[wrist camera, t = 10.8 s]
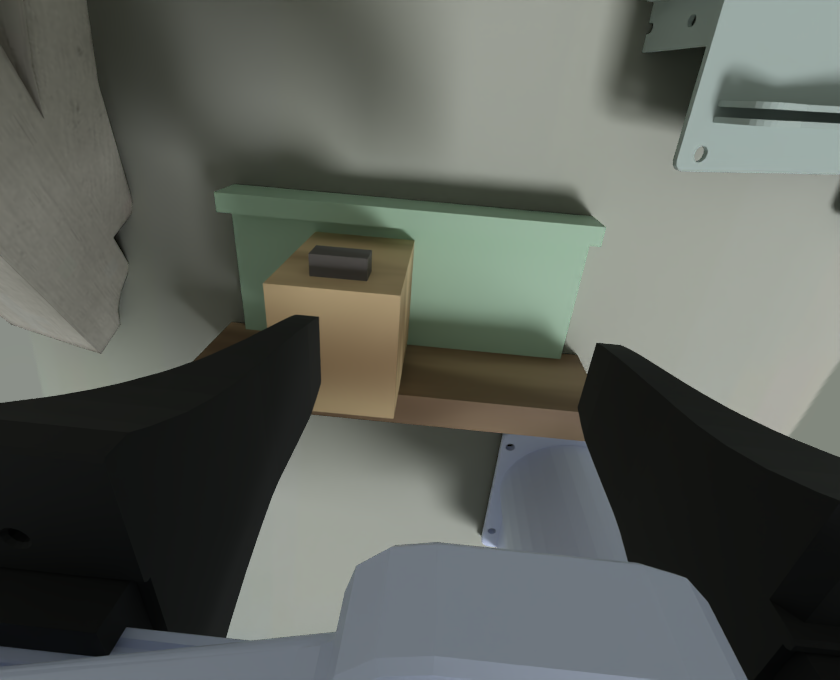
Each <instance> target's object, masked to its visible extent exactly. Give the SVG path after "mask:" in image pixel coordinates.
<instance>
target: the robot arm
mask: <svg viewBox="0 0 840 680" xmlns="http://www.w3.org/2000/svg"><path fill="white" fill-rule="evenodd" d="M320 385H321V359H320V329H319V317H317V316H307V315H293V316H290V317H288V318H286V319H284V320H282V321H280V322H278V323H276V324H274V325H272V326H270V327H268V328H266V329H264V330H262V331H260V332H258V333H256V334H254V335H252V336H250V337H248V338H246V339H244V340H242V341H240V342H238V343H236V344H233V345H231V346H229V347H227V348H224V349H222V350H220V351H218V352H216V353H213V354H211V355H209V356H206V357H204V358H201V359H199V360H196V361H193V362H191V363H188V364H185V365H182V366H179V367H176V368H173V369H170V370H167V371H164V372H160V373H157V374H153V375H149V376H146V377H142V378H138V379H135V380H131V381H127V382H123V383H119V384H115V385H110V386H106V387H101V388H96V389H91V390H86V391H80V392H75V393H69V394H64V395H57V396H51V397H44V398H36V399H28V400H20V401H13V402H5V403H0V680H840V457H837V456H835V455H832V454H829V453H827V452H825V451H822V450H819V449H817V448H814V447H812V446H810V445H807V444H805V443H802V442H800V441H797V440H795V439H792V438H790V437H788V436H785V435H783V434H781V433H779V432H776V431H774V430H772V429H770V428H768V427H766V426H764V425H761V424H759V423H757V422H755V421H753V420H751V419H749V418H747V417H745V416H743V415H741V414H739V413H737V412H735V411H733V410H731V409H729V408H727V407H725V406H724V405H722V404H720V403H718V402H717V401H715V400H713V399H711V398H709V397H708V396H706V395H704V394H702V393H701V392H699V391H697V390H696V389H694V388H692V387H691V386H689V385H687V384H686V383H684V382H682V381H681V380H679V379H677V378H676V377H674V376H673V375H671V374H669V373H668V372H666V371H665V370H663V369H662V368H660V367H658V366H657V365H655V364H654V363H652V362H650V361H649V360H647V359H645V358H644V357H642V356H640V355H639V354H637V353H635V352H634V351H632V350H630V349H628V348H626V347H624V346H621V345H614V344H603V343H596V347H595V350H594V353H593V357H592V360H591V363H590V367H589V370H588V374H587V377H586V380H585V384H584V387H583V390H582V394H581V397H580V401H579V404H578V407H577V408H578V413H579V418H580V423H581V427H582V431H583V435H584V439H585V441H576V440H566V439H556V438H546V437H535V436H525V435H515V434H505V433H503V435H502V439H501V444H500V449H499V454H498V459H497V463H496V468H495V473H494V478H493V483H492V488H491V492H490V497H489V502H488V507H487V512H486V517H485V521H484V526H483V531H482V536H481V537H482V543H483V544H484V545H486V546H491V547H497V548H489V547H479V546H470V545H460V544H450V543H440V542H432V543H419V544H405V545H395V546H393V547H390V548H389V549H387V550H385V551H383V552H381V553H379V554H377V555H375V556H374V557H372V558H370V559H368V560H366V561H364V562H362V563H361V564H359V565H357V566H356V568H355V570H354V573H353V575H352V577H351V579H350V581H349V584H348V586H347V588H346V590H345V594H344V598H343V603H342V608H341V612H340V617H339V621H338V626H337V631H336V632H329V633H319V634H309V635H300V636H290V637H280V638H271V639H261V640H252V641H249V640H240V639H231V638H226V636H227V632H228V629H229V625H230V622H231V619H232V615H233V612H234V609H235V606H236V602H237V599H238V596H239V593H240V590H241V586H242V583H243V580H244V577H245V574H246V570H247V567H248V564H249V561H250V558H251V555H252V552H253V549H254V547H255V544H256V541H257V538H258V535H259V532H260V529H261V526H262V523H263V520H264V518H265V515H266V512H267V509H268V506H269V504H270V501H271V498H272V495H273V493H274V491H275V488H276V486H277V484H278V481H279V479H280V477H281V475H282V473H283V471H284V469H285V467H286V465H287V463H288V461H289V459H290V457H291V455H292V453H293V451H294V449H295V447H296V445H297V443H298V441H299V439H300V437H301V434H302V432H303V430H304V428H305V426H306V424H307V422H308V420H309V418H310V416H311V413H312V411H313V408H314V405H315V402H316V399H317V395H318V392H319V389H320ZM508 444H513V445H512V446H506V445H508ZM490 528H493V529H490Z"/></svg>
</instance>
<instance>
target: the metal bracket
mask: <svg viewBox="0 0 840 680" xmlns="http://www.w3.org/2000/svg"><path fill="white" fill-rule="evenodd" d="M646 1H649V2H654V4H653V8H652V13H651V17H650V21H649V24H650V23H653V29H652V31H651V33H650V34H646V38H645V42H644V46H643V51H642V53H650V52H659V51H669V50H678V49H688V48H697V47H706V50H705V53H704V57H703V60H702V63H701V67H700V70H699V74H698V77H697V80H696V84H695V87H694V91H693V94H692V97H691V101H690V104H689V108H688V111H687V114H686V118H685V121H684V125H683V128H682V132H681V135H680V138H679V142H678V145H677V149H676V152H675V155H674V159H673V166H674V168H675V169H676V170H678V171H687V172H739V173H790V174H840V0H646ZM695 16H696V21H695V23H694V25H693V26H692V21H693V19H694V17H695ZM701 146H703V148H704V154H703V156H702V158H701V159H700V160H698V161H695V159H694V154H695V152H696V150H697V149H698V148H699V147H701Z"/></svg>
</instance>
